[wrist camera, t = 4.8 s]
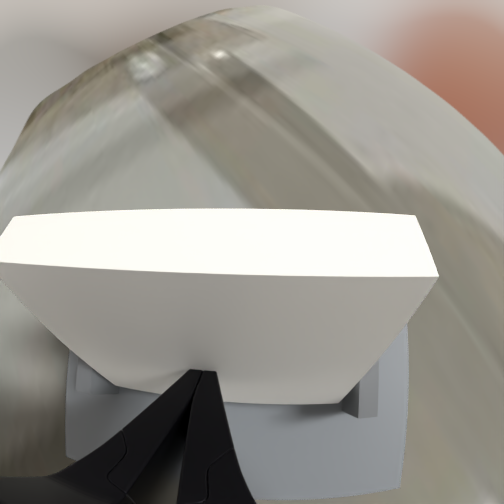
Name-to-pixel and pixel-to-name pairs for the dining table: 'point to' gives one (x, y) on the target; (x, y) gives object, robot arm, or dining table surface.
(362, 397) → the base
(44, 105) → the dining table surface
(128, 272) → the panel
